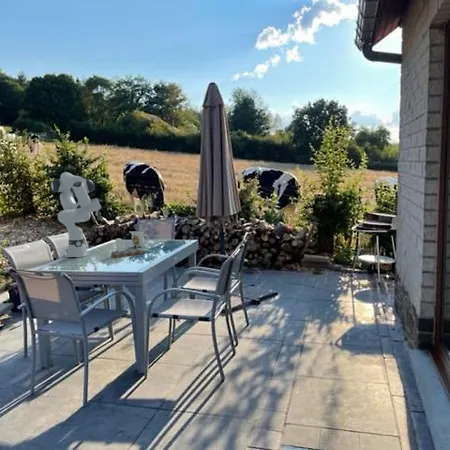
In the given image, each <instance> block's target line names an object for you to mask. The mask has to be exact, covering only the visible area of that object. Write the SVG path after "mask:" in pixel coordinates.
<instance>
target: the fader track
mask: <svg viewBox="0 0 450 450" xmlns="http://www.w3.org/2000/svg"><path fill="white" fill-rule="evenodd" d="M141 248H142V247H137V248H130V249H124V250H123V252H119V253H116V251H117V250H116V251H111V253H110V256H111V257H113V258H115V259H117V258H123V257H130V256H138V255H144V254H145V249H144V248H143V249H141Z"/></svg>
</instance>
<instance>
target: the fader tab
mask: <svg viewBox="0 0 450 450" xmlns="http://www.w3.org/2000/svg"><path fill="white" fill-rule="evenodd" d="M115 245H116V253H119V252H123V248H124V246H123V239H122V238H115Z"/></svg>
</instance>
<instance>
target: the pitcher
mask: <svg viewBox="0 0 450 450" xmlns="http://www.w3.org/2000/svg"><path fill="white" fill-rule="evenodd" d="M129 233H130V234H131V242H132V245H133V247H134V246H136V247H135V248H140V247H139V246H142V247H143V246H144V245H145V244H147V243H148V242H149V236H148V234H144V231H139V230H138V231H136V230H135V231H129ZM145 238H146V241H145Z"/></svg>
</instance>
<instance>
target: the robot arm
mask: <svg viewBox="0 0 450 450" xmlns="http://www.w3.org/2000/svg"><path fill="white" fill-rule="evenodd" d="M50 188H51V190H52V192H54V193H60V194H59V200H60V201H59V202H60V204H61V207H62V208H63V210H60V211H59V212H58V214H57V220H58V221H59V223H61V224H63V225H64V226H65V228H66V230H67V232H68V245H67V247H66V249H65V253H64V257H65V258H66V257H77V258H82V257H87V256H89V255H90V254H89V252H88V249H87V245H86V243H85V240H84V231H83V228H81V227H79V226H77V225H76V224H75V223H84V222H87V221H90V218H91V214H92V213H94V212H95V214H94V215H95V216H96V217H98V216H99V210H101V209H102V205H101V204H100V199H99V198H98V197H95V198H90V196H89V193H92V192H94V191H95V188H96V186H95V183H94V182H93V180H91V179H89V178H88V179H87V178H85V177H83V176H80V175H74V174H72V173H70V172H67V171H64V172H62V173H61V174H60V178H56V179H52V181H51V183H50ZM75 198H77V202H76V200H75Z"/></svg>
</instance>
